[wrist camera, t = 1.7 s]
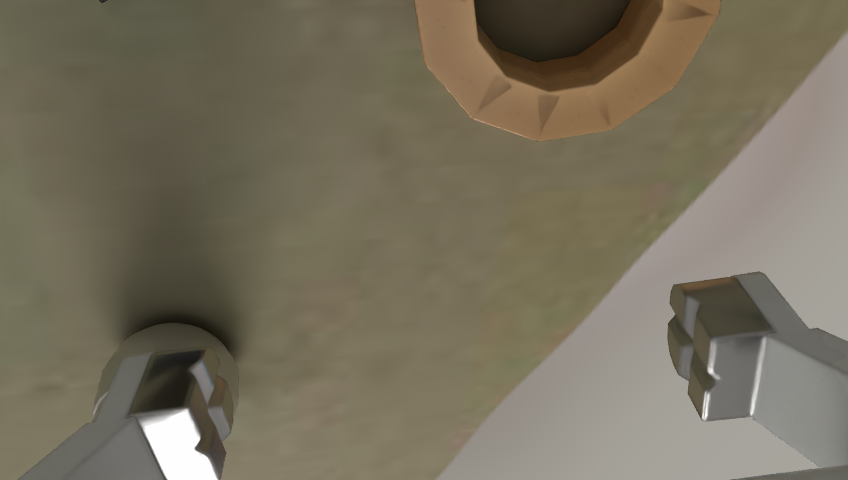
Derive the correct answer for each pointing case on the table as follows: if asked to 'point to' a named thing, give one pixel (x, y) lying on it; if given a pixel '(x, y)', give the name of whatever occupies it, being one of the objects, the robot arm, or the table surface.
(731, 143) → the table surface
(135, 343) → the plastic bottle
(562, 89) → the ring
